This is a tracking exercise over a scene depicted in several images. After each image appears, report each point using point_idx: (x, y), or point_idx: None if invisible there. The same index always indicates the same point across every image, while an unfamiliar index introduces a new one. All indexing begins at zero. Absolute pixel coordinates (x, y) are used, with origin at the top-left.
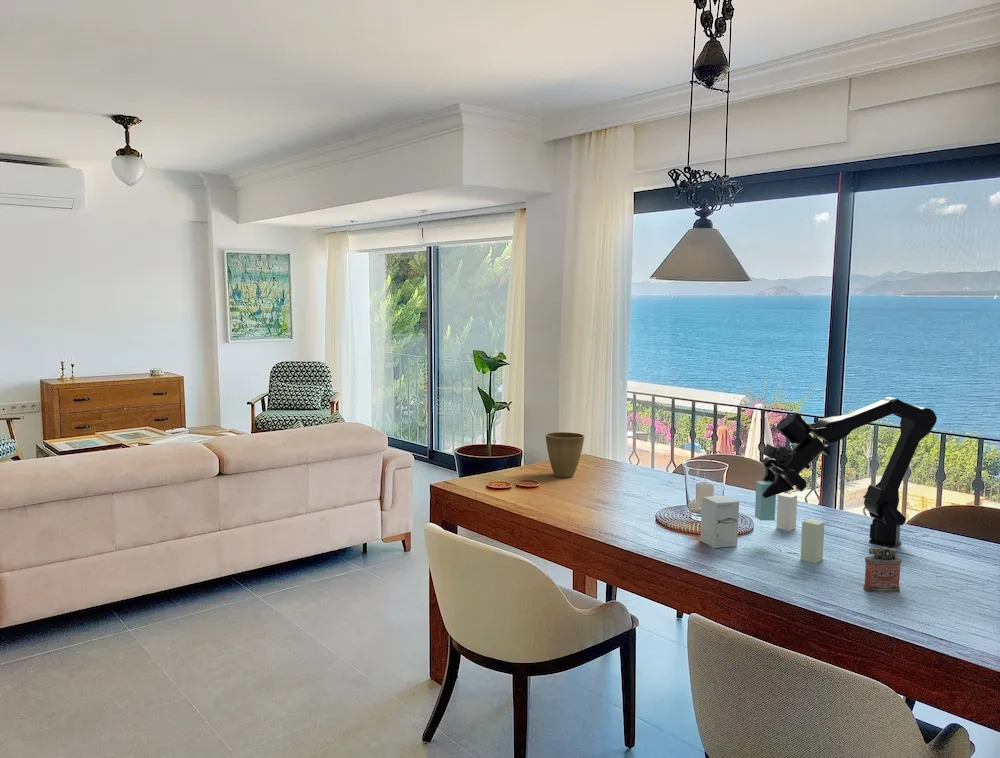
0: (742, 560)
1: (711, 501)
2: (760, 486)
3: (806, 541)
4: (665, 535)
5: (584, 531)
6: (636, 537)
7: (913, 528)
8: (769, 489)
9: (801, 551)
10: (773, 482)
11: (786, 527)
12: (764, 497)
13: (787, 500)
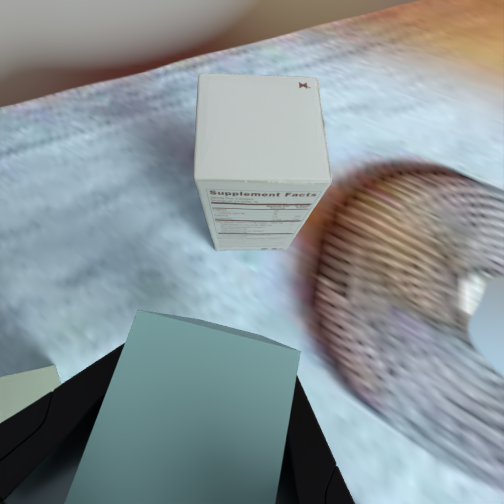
0: (118, 203)
1: (240, 77)
2: (176, 318)
3: None
4: (336, 138)
5: (379, 23)
6: (330, 83)
7: None
8: (89, 368)
9: (32, 370)
10: (8, 454)
11: None
12: None
13: None
